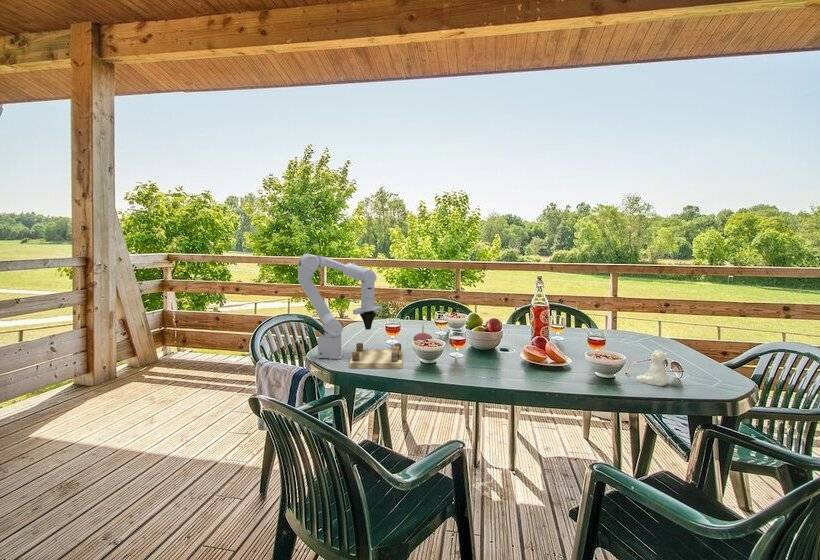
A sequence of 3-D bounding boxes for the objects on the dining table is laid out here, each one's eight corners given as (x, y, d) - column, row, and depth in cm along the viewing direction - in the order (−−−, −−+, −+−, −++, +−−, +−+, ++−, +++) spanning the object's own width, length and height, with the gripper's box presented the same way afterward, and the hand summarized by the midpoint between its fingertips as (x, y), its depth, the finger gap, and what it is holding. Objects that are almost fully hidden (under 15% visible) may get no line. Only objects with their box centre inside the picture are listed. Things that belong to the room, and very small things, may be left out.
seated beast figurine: (653, 377, 155) (655, 345, 154) (676, 385, 147) (678, 351, 146) (634, 381, 152) (636, 347, 150) (657, 389, 144) (659, 353, 143)
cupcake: (432, 351, 189) (432, 324, 188) (413, 351, 189) (413, 324, 188) (431, 346, 198) (432, 320, 197) (413, 346, 198) (413, 320, 197)
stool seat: (349, 368, 163) (349, 355, 163) (355, 354, 183) (355, 342, 183) (402, 368, 164) (402, 355, 163) (402, 354, 183) (402, 342, 183)
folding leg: (393, 352, 177) (393, 346, 177) (399, 353, 177) (399, 346, 176) (391, 360, 165) (391, 353, 165) (397, 361, 165) (397, 353, 165)
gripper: (360, 300, 175) (360, 333, 176) (386, 297, 185) (386, 328, 187) (349, 298, 180) (350, 330, 181) (375, 295, 190) (376, 325, 192)
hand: (368, 329), depth 184 cm, fingers closed
